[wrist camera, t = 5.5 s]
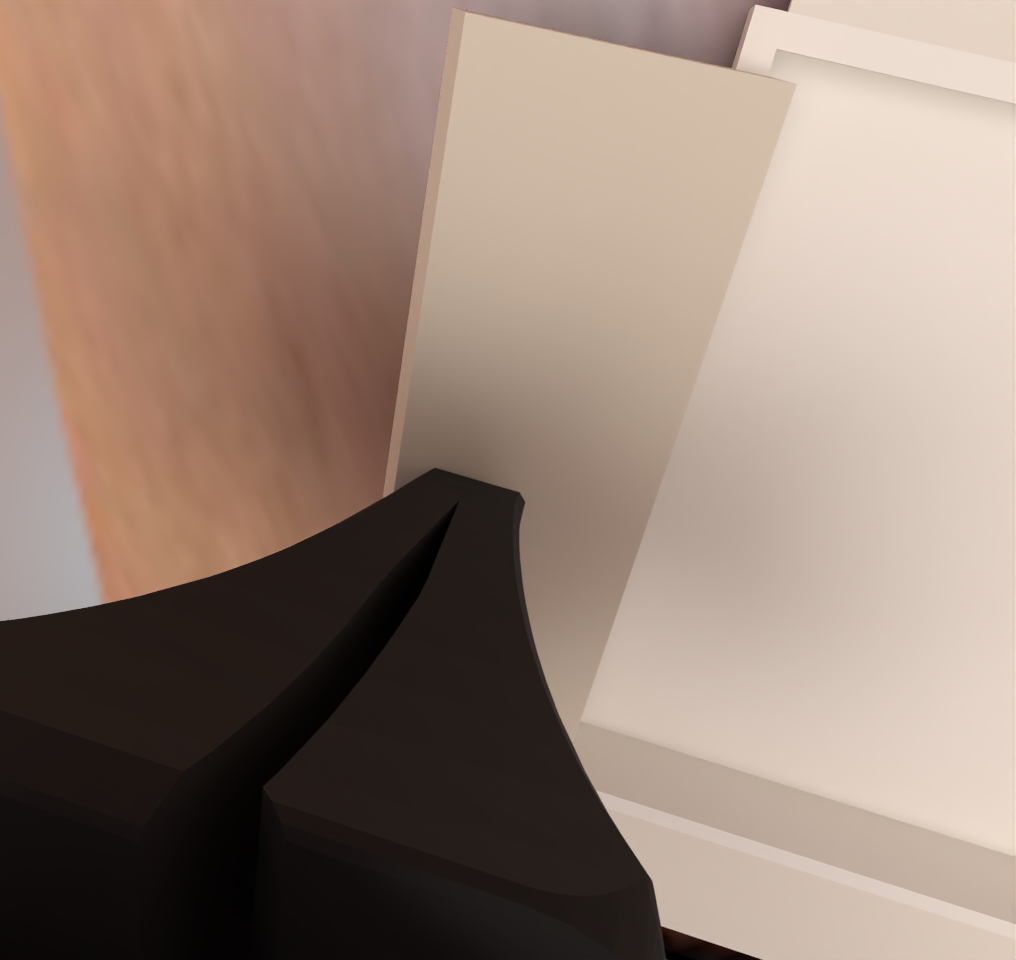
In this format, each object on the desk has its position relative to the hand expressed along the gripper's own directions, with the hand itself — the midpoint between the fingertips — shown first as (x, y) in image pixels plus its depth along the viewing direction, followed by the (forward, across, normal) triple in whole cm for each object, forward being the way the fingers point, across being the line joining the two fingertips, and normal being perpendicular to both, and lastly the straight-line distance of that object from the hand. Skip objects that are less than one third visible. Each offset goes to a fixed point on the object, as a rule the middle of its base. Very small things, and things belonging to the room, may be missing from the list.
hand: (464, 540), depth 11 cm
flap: (+1, -1, 0) cm, 1 cm away
